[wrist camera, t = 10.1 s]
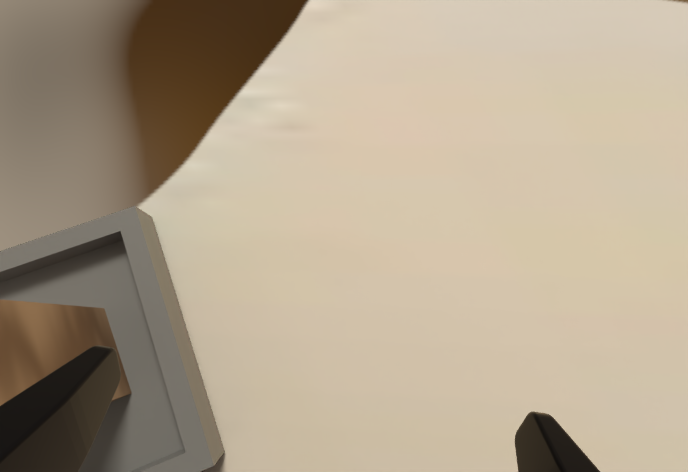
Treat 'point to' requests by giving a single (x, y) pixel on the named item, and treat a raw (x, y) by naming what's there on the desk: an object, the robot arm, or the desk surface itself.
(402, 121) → the desk surface
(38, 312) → the block
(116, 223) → the tray
